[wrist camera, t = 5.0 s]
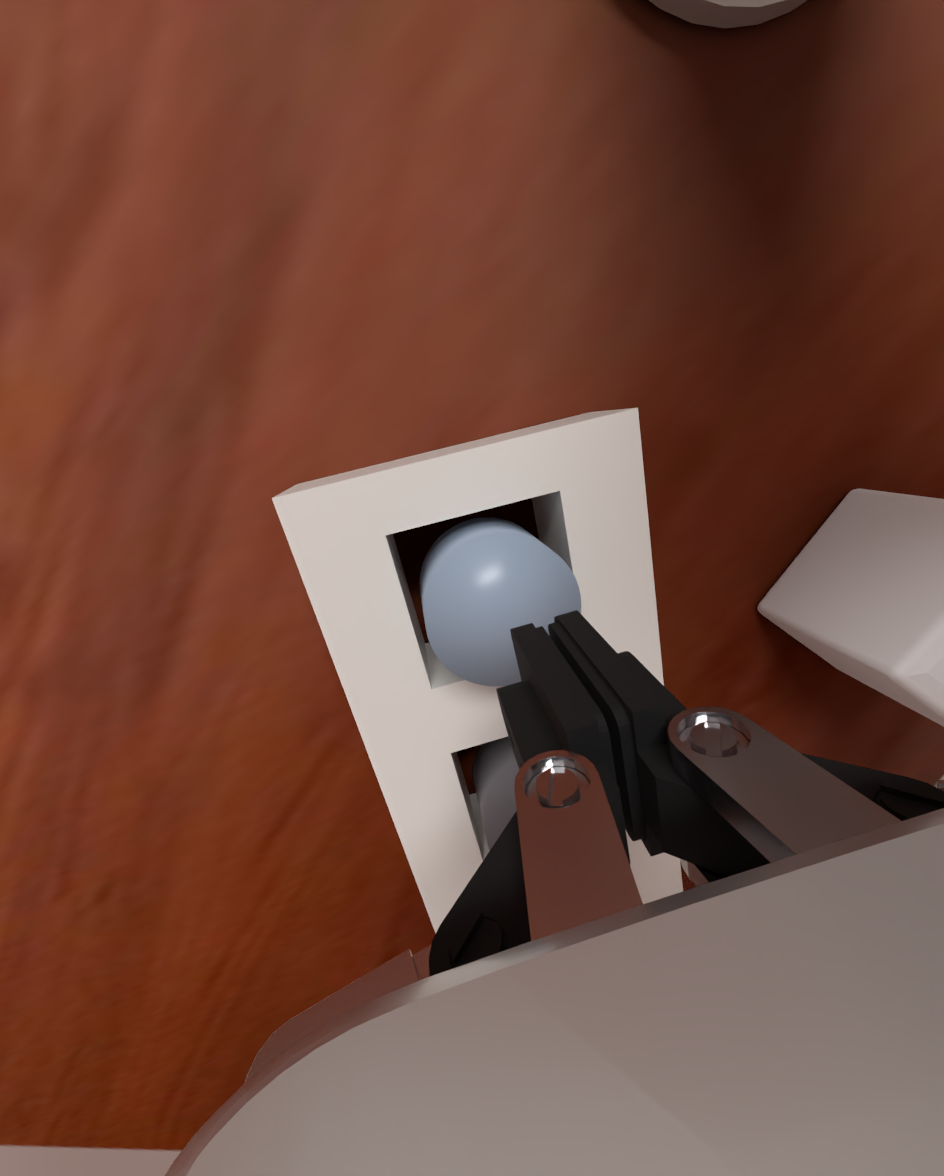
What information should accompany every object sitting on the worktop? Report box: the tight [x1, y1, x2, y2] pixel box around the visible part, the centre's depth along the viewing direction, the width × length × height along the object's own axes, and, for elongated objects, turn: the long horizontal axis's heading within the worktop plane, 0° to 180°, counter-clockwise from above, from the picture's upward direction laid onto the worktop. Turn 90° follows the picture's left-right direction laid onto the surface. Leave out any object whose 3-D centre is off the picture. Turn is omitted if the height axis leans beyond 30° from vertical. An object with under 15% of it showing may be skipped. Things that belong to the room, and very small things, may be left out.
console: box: [272, 408, 683, 933], centre depth 21 cm, size 28×12×4 cm, turn 13°
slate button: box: [419, 517, 581, 686], centre depth 16 cm, size 5×5×4 cm
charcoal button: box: [472, 736, 519, 850], centre depth 19 cm, size 5×5×4 cm
